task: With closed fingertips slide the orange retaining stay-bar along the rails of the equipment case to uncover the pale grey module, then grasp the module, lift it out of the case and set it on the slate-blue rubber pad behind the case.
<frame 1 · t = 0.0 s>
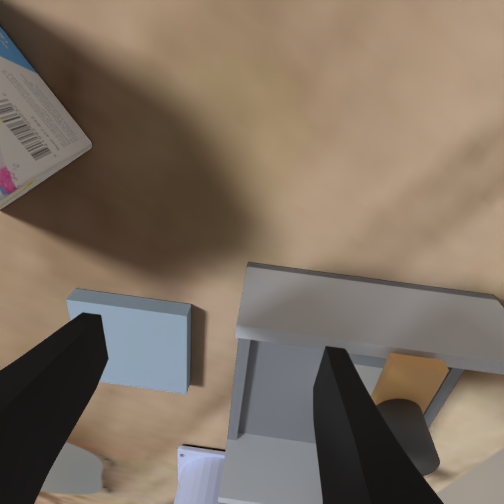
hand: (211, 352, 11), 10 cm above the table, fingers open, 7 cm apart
case: (336, 375, 26), on the table
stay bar: (369, 487, 20), point 7 cm above the table, slide at 0.0 cm
module: (350, 383, 26), resting on case
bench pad: (137, 338, 26), on the table
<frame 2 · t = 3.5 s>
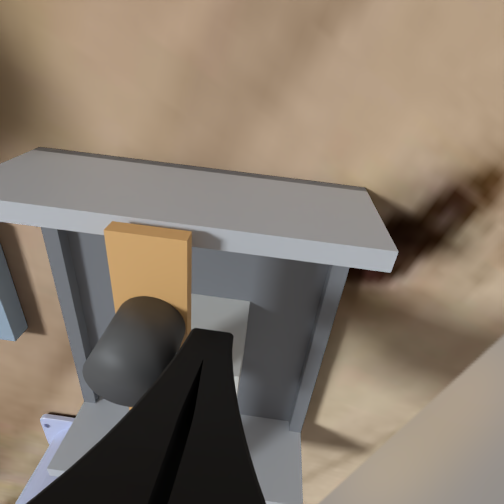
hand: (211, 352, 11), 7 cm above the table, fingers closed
case: (197, 315, 21), on the table
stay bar: (151, 438, 14), point 8 cm above the table, slide at 1.2 cm, touching gripper
module: (212, 323, 20), resting on case
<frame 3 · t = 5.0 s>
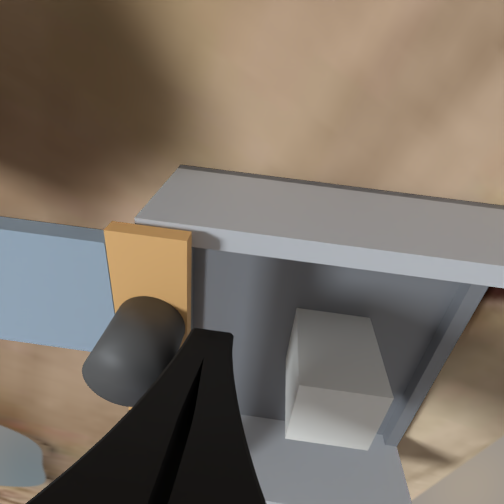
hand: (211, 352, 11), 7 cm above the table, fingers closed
case: (307, 330, 20), on the table
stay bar: (150, 438, 14), point 8 cm above the table, slide at 7.8 cm, touching gripper
module: (325, 339, 20), resting on case
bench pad: (54, 282, 20), on the table
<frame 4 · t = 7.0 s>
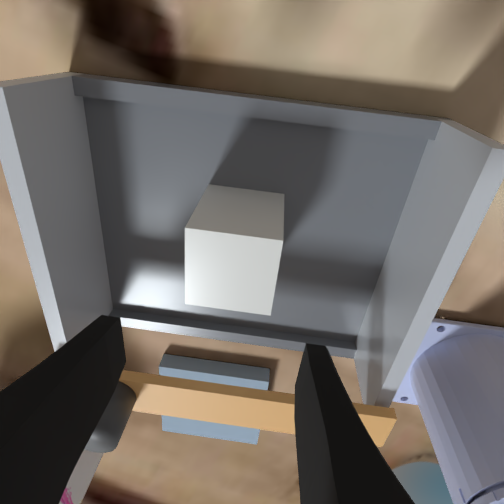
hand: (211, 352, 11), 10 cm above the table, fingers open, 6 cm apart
case: (242, 234, 20), on the table
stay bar: (214, 425, 17), point 8 cm above the table, slide at 7.9 cm
module: (243, 223, 19), resting on case
ink box: (51, 417, 32), on the table
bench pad: (214, 394, 28), on the table
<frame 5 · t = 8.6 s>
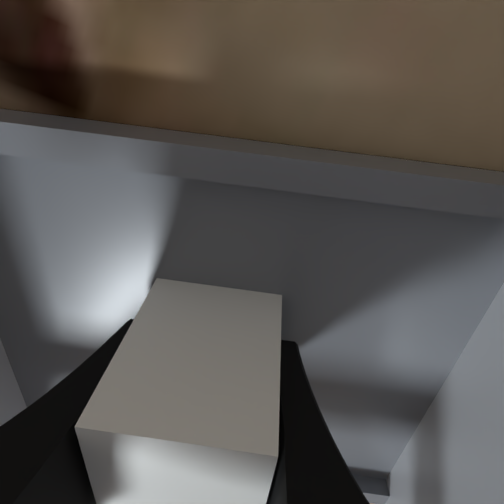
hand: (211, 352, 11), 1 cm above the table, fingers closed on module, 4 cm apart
case: (217, 342, 13), on the table
module: (216, 332, 12), resting on case, touching gripper
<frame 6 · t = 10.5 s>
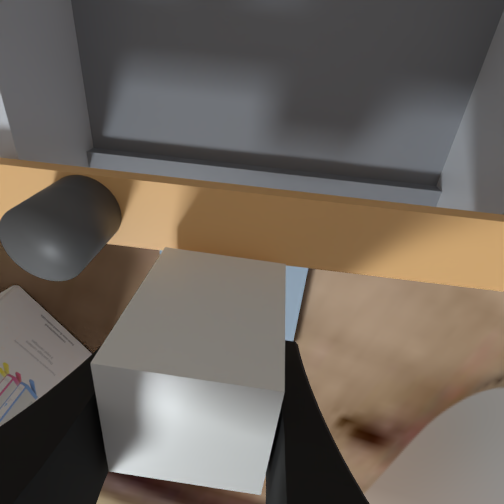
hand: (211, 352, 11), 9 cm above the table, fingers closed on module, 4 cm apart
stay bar: (246, 242, 11), point 7 cm above the table, slide at 7.9 cm
module: (221, 303, 12), point 7 cm above the table, touching gripper
ink box: (26, 341, 26), on the table
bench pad: (232, 294, 21), on the table
when the fingers open (3 cm above the table, at t = 12.2 s): module stays where it is, resting on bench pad.
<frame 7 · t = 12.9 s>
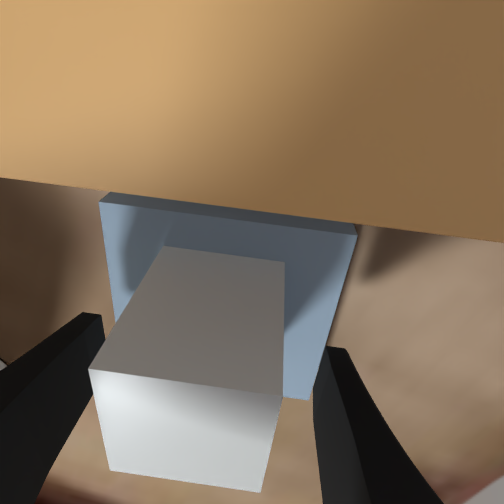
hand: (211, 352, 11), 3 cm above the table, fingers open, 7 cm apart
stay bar: (262, 124, 3), point 7 cm above the table, slide at 7.9 cm
module: (220, 301, 12), point 1 cm above the table, touching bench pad
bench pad: (225, 296, 14), on the table
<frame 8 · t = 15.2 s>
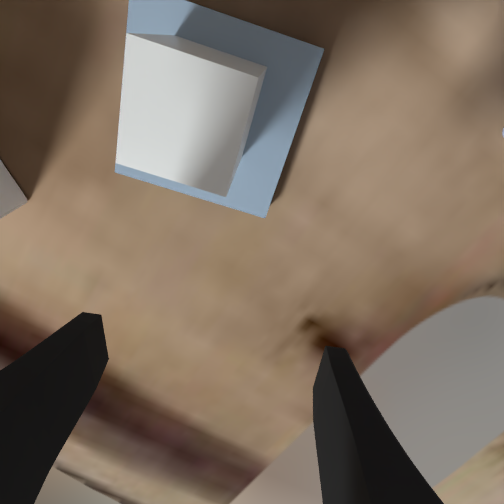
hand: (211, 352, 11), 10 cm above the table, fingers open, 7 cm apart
module: (210, 101, 15), point 1 cm above the table, touching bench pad
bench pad: (212, 112, 17), on the table
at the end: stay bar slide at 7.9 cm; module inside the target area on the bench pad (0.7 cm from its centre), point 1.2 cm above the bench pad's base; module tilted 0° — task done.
